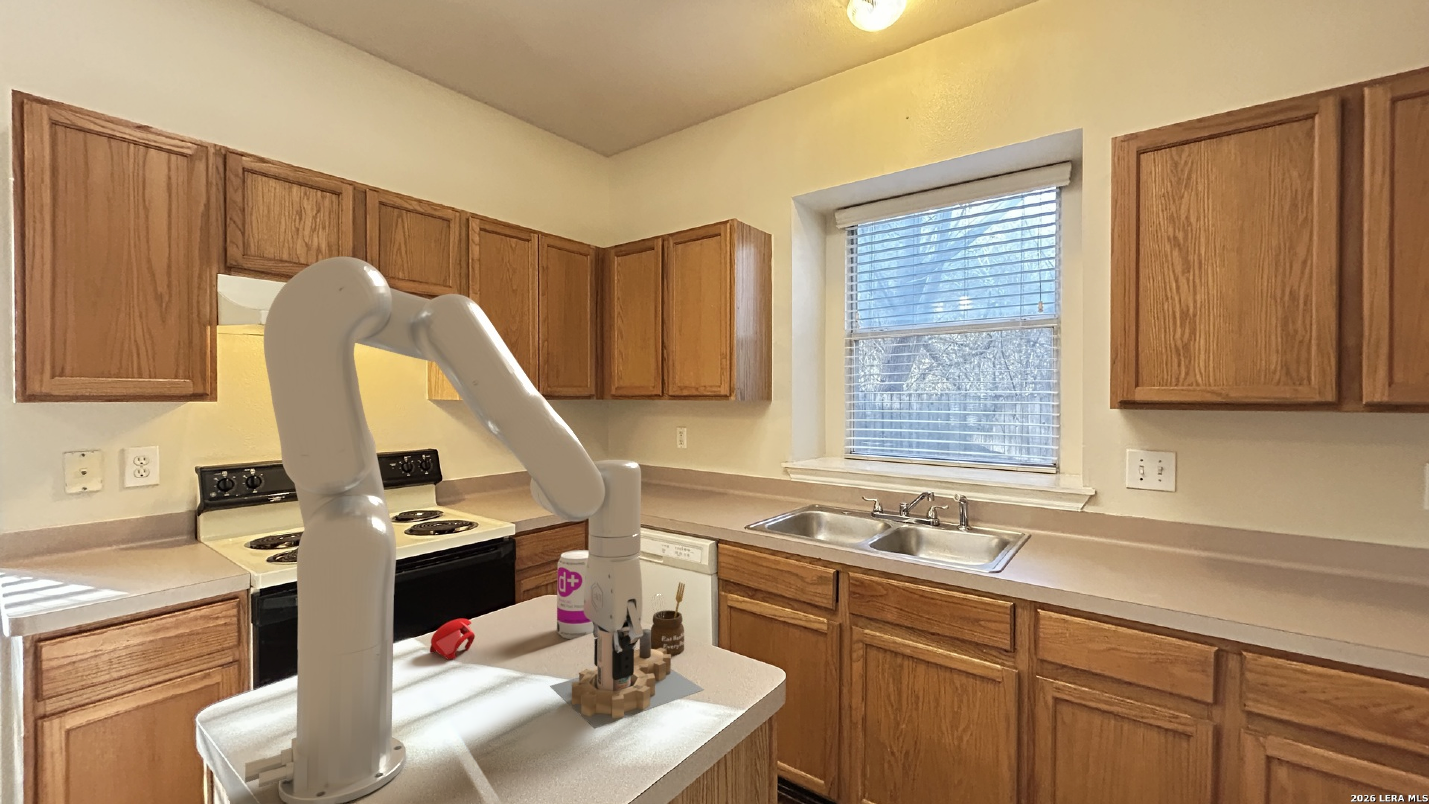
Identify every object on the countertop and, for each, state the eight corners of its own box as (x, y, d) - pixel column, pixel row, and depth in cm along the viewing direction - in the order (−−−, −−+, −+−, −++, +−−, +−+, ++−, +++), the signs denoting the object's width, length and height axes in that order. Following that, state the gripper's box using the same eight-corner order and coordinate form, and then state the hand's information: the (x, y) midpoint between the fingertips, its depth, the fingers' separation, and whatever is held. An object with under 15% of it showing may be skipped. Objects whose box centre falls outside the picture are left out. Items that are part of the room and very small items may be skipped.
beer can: (623, 698, 84) (624, 612, 84) (591, 694, 85) (592, 610, 85) (634, 683, 89) (635, 602, 89) (604, 680, 89) (605, 599, 90)
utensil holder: (643, 654, 104) (643, 585, 105) (671, 645, 109) (672, 579, 109) (663, 665, 100) (664, 593, 100) (692, 655, 104) (692, 586, 104)
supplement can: (578, 644, 109) (579, 561, 109) (547, 634, 113) (548, 555, 113) (609, 630, 116) (610, 553, 116) (579, 622, 120) (579, 547, 120)
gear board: (594, 735, 78) (594, 728, 78) (549, 692, 90) (549, 685, 90) (704, 696, 89) (704, 689, 89) (651, 662, 101) (651, 656, 101)
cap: (486, 629, 107) (463, 609, 109) (472, 629, 102) (447, 608, 103) (456, 668, 105) (433, 647, 107) (440, 671, 100) (415, 649, 101)
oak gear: (595, 727, 78) (595, 707, 79) (559, 693, 88) (559, 676, 88) (669, 701, 86) (669, 683, 86) (628, 672, 95) (628, 656, 95)
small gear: (642, 688, 89) (642, 645, 89) (608, 672, 95) (608, 631, 95) (681, 671, 95) (681, 630, 95) (647, 656, 101) (647, 618, 101)
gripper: (566, 538, 91) (565, 657, 91) (620, 560, 78) (619, 700, 78) (610, 532, 96) (609, 645, 96) (668, 552, 83) (667, 684, 82)
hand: (613, 669), depth 87 cm, fingers closed on beer can, 4 cm apart
